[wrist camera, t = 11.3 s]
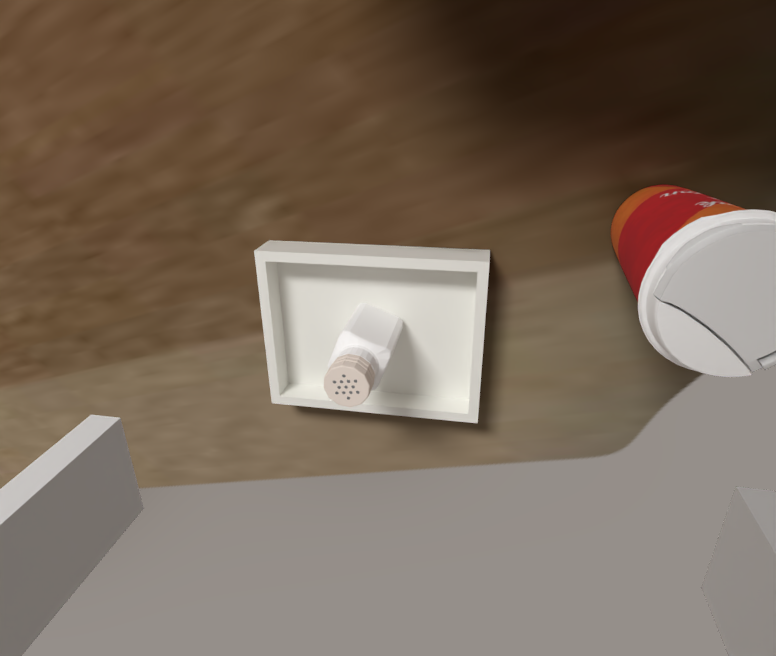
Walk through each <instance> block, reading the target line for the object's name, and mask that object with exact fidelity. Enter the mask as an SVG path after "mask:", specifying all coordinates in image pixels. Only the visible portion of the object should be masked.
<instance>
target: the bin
mask: <svg viewBox="0 0 776 656" xmlns="http://www.w3.org/2000/svg"><path fill="white" fill-rule="evenodd" d="M254 254H255V262H256V271H257V279H258V288H259V296H260V305H261V314H262V322H263V331H264V339H265V348H266V357H267V365H268V374H269V382H270V391H271V400H272V403H276V404H286V405H296V406H306V407H316V408H327V409H337V410H347V411H357V412H367V413H377V414H387V415H398V416H408V417H418V418H428V419H438V420H448V421H459V422H469V423H478V412H479V398H480V385H481V371H482V358H483V345H484V331H485V318H486V304H487V291H488V277H489V264H490V250H480V249H457V248H434V247H411V246H388V245H365V244H342V243H319V242H296V241H273V240H269V241H268V242H266V243H265V244H263V245H262V246H260V247H259V248H257V249H256V250H255V251H254ZM361 303H367V304H370V305H372V306H374V307H376V308H379V309H381V310H383V311H386V312H388V313H390V314H392V315H395V316H397V317H399V318H400V319H401V320H402V321H403V328H402V331H401V333H400V336H399V338H398V341H397V344H396V346H395V349H394V351H393V354H392V356H391V359H390V361H389V363H388V366H387V368H386V370H385V372H384V374H383V377H382V379H381V381H380V383H379V385H378V387H377V388H376V389H375V390H373V391H371V392H370V394H369V396H368V398H367V399H366V400H365V401H364V402H363V403H362V404H360V405H357V406H353V407H346V406H341V405H338V404H337V403H335V402H334V401H333V400H331V399H330V398H329V397H328V395H327V393H326V391H325V389H324V376H325V375H326V373H327V371H328V363H329V360H330V357H331V355H332V352H333V350H334V347H335V345H336V342H337V340H338V337H339V335H340V333H341V332H342V330H343V328H344V327H345V325H346V324H347V322H348V320H349V319H350V317H351V316H352V314H353V312H354V311H355V309H356V308H357V306H358V305H359V304H361Z"/></svg>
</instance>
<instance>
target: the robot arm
mask: <svg viewBox="0 0 776 656" xmlns="http://www.w3.org/2000/svg"><path fill="white" fill-rule="evenodd" d="M143 509H144V508H143V503H142V500H141V496H140V492H139V488H138V484H137V480H136V476H135V473H134V469H133V465H132V461H131V457H130V453H129V449H128V446H127V442H126V438H125V434H124V430H123V426H122V422H121V419H120V418H116V417H107V416H98V415H90V416H89V417H88V418H87V419H85V420H84V421H83V422H82V423H80V424H79V425H78V426H77V427H76V428H74V429H73V430H72V431H71V432H69V433H68V434H67V435H66V436H65V437H63V438H62V439H61V440H60V441H58V442H57V443H56V444H55V445H54V446H52V447H51V448H50V449H49V450H47V451H46V452H45V453H44V454H43V455H41V456H40V457H39V458H38V459H36V460H35V461H34V462H33V463H32V464H30V465H29V466H28V467H27V468H25V469H24V470H23V471H22V472H21V473H19V474H18V475H17V476H16V477H14V478H13V479H12V480H11V481H10V482H8V483H7V484H6V485H5V486H3V487H2V488H1V489H0V656H22V654H24V652H25V651H26V650H27V649H28V647H29V646H30V645H31V644H32V643H33V641H34V640H35V639H36V638H37V637H38V635H39V634H40V633H41V632H42V631H43V629H44V628H45V627H46V626H47V625H48V623H49V622H50V621H51V620H52V619H53V617H54V616H55V615H56V614H57V612H58V611H59V610H60V609H61V608H62V607H63V605H64V604H65V603H66V602H67V600H68V599H69V598H70V597H71V596H72V594H73V593H74V592H75V591H76V590H77V588H78V587H79V586H80V585H81V583H82V582H83V581H84V580H85V579H86V577H87V576H88V575H89V574H90V573H91V572H92V570H93V569H94V568H95V567H96V565H97V564H98V563H99V562H100V561H101V560H102V558H103V557H104V556H105V554H106V553H107V552H108V551H109V550H110V549H111V547H112V546H113V545H114V544H115V543H116V541H117V540H118V539H119V538H120V537H121V535H122V534H123V533H124V532H125V531H126V529H127V528H128V527H129V526H130V524H131V523H132V522H133V521H134V520H135V518H136V517H137V516H138V515H139V514H140V513H141V511H142V510H143ZM701 588H702V591H703V593H704V596H705V598H706V600H707V603H708V606H709V608H710V611H711V613H712V616H713V618H714V621H715V623H716V625H717V628H718V631H719V633H720V636H721V638H722V641H723V643H724V646H725V648H726V650H727V653H728V655H729V656H776V491H773V490H764V489H754V488H746V487H737V486H736V487H735V490H734V493H733V496H732V499H731V502H730V505H729V508H728V511H727V514H726V517H725V520H724V522H723V525H722V528H721V531H720V534H719V537H718V540H717V543H716V546H715V549H714V552H713V555H712V558H711V561H710V563H709V567H708V570H707V572H706V575H705V578H704V581H703V584H702V587H701Z"/></svg>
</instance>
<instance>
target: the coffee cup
mask: <svg viewBox="0 0 776 656" xmlns="http://www.w3.org/2000/svg"><path fill="white" fill-rule="evenodd" d="M611 240H612V244H613V248H614V250H615V253H616V255H617V258H618V260H619V262H620V265H621V267H622V269H623V271H624V273H625V276H626V278H627V280H628V282H629V284H630V287H631V289H632V291H633V293H634V295H635V297H636V300H637V302H638V314H639V320H640V323H641V326H642V330H643V332H644V333H645V335H646V337H647V339H648V341H649V342H650V343H651V344H652V346H653V347H654V348H655V349H656V350H657V351H658V352H659V353H660V354H661V355H663V356H664V357H665V358H666V359H668V360H670V361H671V362H673V363H675V364H677V365H679V366H682V367H684V368H687V369H690V370H694V371H698V372H700V373H704V374H708V375H712V376H720V377H743V376H750V375H751V373H750V371H753V372H754V371H757V370H759V369H761V368H764V369H765V370H766V369H768V368H770V367H772V366H774V365H776V212H773V211H768V210H753V209H750V210H747V209H744V208H741V207H738V206H735V205H732V204H730V203H727V202H724V201H721V200H718V199H715V198H712V197H710V196H707V195H704V194H701V193H698V192H695V191H692V190H689V189H686V188H682V187H678V186H674V185H654V186H650V187H646V188H644V189H641V190H639V191H637V192H635V193H634V194H632V195H631V196H630V197H628V198H627V199H626V200H625V201H624V202H623V203H622V204H621V206H620V207H619V208H618V210H617V212H616V214H615V216H614V218H613V221H612V225H611Z"/></svg>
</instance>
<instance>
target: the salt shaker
mask: <svg viewBox="0 0 776 656" xmlns="http://www.w3.org/2000/svg"><path fill="white" fill-rule="evenodd" d="M402 328H403V321H402V320H401V319H400V318H399V317H397V316H395V315H392V314H390V313H388V312H386V311H383V310H381V309H379V308H376V307H374V306H372V305H370V304H367V303H361V304H359V305H358V306H357V308H356V309H355V311H354V312H353V314H352V316H351V317H350V319H349V320H348V322H347V324H346V325H345V327H344V328H343V330H342V332H341V333H340V335H339V337H338V340H337V342H336V345H335V347H334V350H333V352H332V355H331V357H330V360H329V363H328V371H327V373H326V375H325V376H324V389H325V391H326V393H327V395H328V397H329V398H330V399H331V400H333V401H334V402H335V403H337V404H338V405H341V406H346V407H353V406H357V405H360V404H362V403H363V402H364V401H365V400H366V399H367V398H368V396H369V394H370V392H371V391H373V390H375V389H376V388H377V387H378V385H379V383H380V381H381V379H382V377H383V374H384V372H385V370H386V368H387V366H388V363H389V361H390V359H391V356H392V354H393V351H394V349H395V346H396V344H397V341H398V338H399V336H400V333H401V331H402Z"/></svg>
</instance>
